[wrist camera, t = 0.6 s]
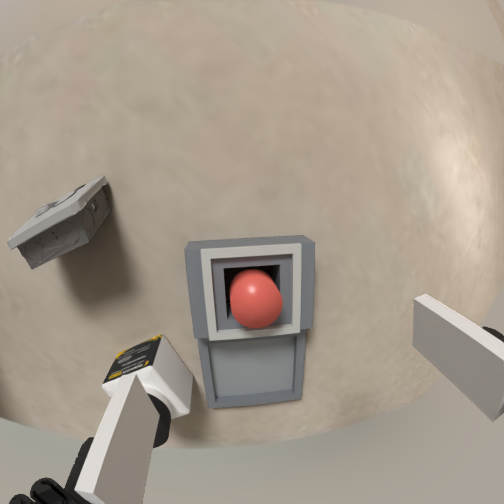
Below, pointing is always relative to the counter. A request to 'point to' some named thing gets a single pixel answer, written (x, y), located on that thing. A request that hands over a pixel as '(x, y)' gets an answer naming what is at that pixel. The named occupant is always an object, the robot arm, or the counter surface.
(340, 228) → the counter surface
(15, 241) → the electrical switch
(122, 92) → the counter surface
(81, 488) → the robot arm
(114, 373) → the medicine bottle
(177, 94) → the counter surface
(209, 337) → the console
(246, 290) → the button
